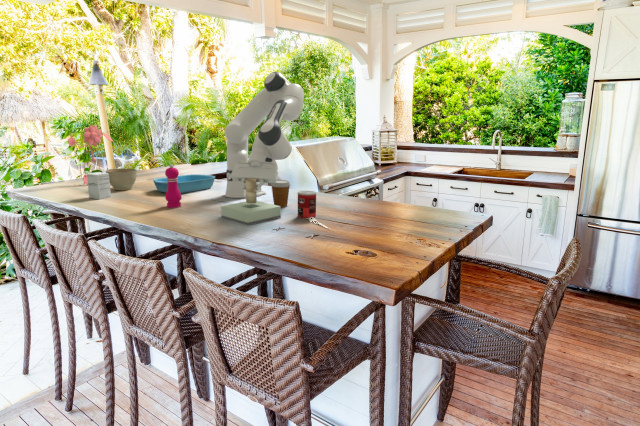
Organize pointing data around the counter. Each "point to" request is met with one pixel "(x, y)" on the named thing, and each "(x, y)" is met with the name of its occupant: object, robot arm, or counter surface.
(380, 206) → the counter surface
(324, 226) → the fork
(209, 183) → the casserole dish
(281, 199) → the disposable coffee cup
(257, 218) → the socket block
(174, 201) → the pepper mill
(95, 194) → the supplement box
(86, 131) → the red flower plant
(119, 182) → the planter bowl
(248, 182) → the birch peg
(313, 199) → the canned food
